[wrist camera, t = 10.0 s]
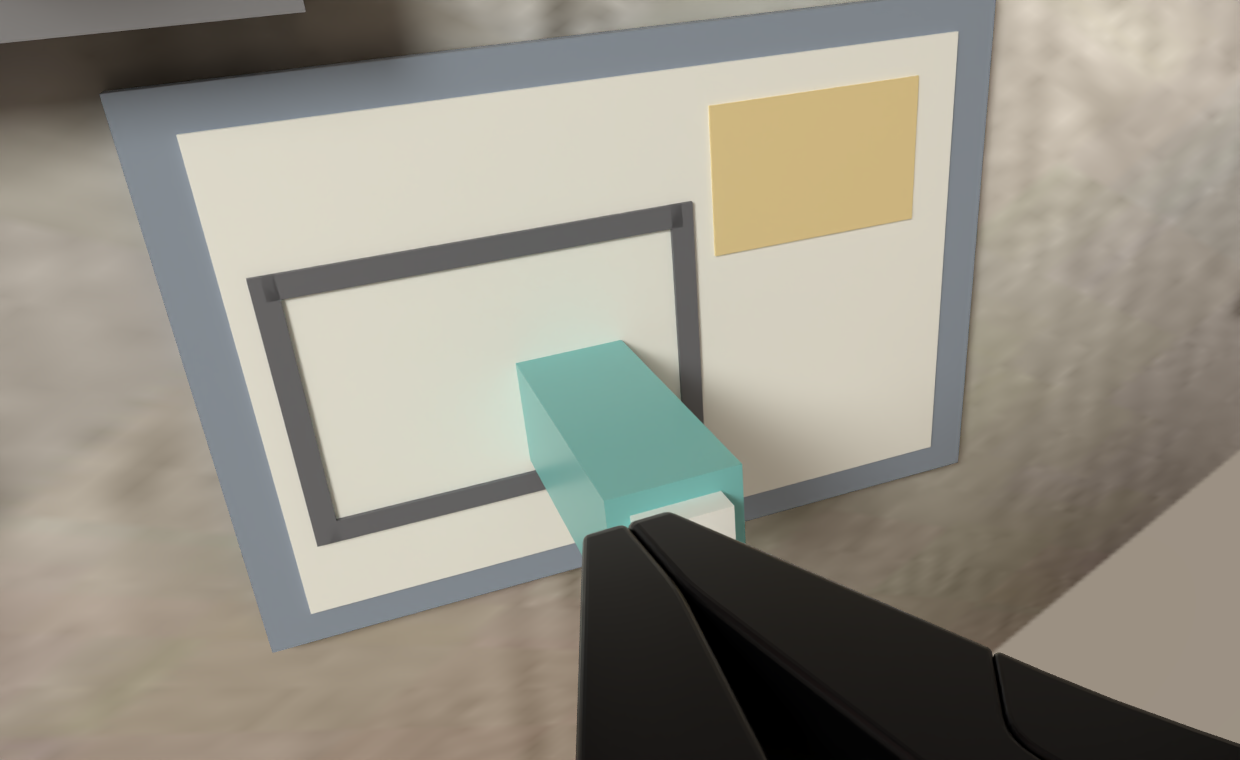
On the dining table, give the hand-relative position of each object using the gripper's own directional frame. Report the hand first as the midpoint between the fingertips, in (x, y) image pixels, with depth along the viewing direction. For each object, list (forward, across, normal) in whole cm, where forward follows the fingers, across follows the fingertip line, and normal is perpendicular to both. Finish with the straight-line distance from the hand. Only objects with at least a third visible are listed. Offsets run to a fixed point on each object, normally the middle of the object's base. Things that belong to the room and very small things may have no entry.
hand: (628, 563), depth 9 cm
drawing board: (+12, -4, +2) cm, 13 cm away
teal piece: (+11, -2, +4) cm, 12 cm away
